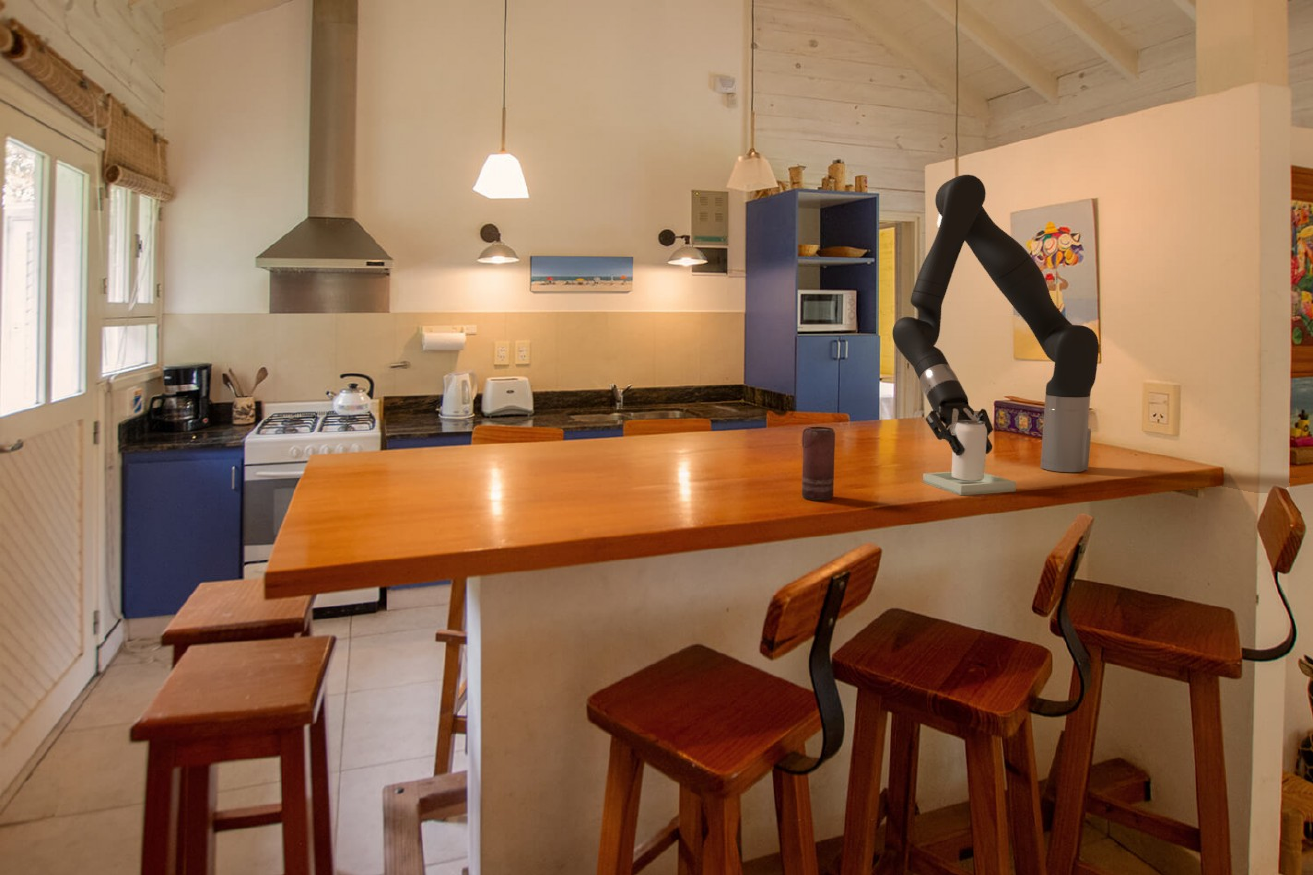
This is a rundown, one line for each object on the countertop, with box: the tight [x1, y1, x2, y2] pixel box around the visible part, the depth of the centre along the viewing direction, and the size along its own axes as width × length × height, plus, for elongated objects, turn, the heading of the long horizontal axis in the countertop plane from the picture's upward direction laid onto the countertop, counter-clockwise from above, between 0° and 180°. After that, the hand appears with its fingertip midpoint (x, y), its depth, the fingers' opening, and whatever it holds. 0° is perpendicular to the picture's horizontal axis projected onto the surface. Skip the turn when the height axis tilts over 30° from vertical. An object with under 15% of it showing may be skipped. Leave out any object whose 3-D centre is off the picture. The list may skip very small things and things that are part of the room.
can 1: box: [801, 426, 836, 502], centre depth 161 cm, size 6×6×14 cm
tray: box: [922, 471, 1017, 496], centre depth 171 cm, size 13×13×2 cm
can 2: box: [951, 420, 987, 481], centre depth 170 cm, size 6×6×12 cm
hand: (974, 452), depth 168 cm, fingers closed on can 2, 6 cm apart
